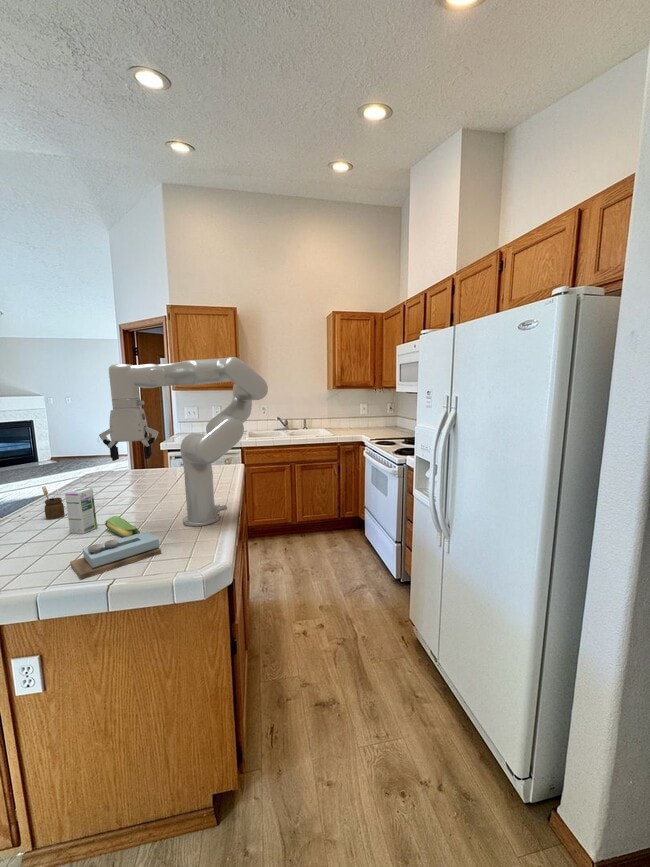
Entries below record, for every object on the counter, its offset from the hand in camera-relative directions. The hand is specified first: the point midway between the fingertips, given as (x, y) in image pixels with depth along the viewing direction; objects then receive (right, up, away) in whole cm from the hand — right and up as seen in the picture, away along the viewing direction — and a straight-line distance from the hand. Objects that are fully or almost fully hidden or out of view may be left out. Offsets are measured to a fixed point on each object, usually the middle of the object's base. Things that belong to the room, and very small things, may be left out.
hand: (131, 459), depth 116 cm
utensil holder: (-42, -24, +25) cm, 55 cm away
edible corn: (-6, -26, +6) cm, 27 cm away
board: (+2, -27, -12) cm, 30 cm away
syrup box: (-22, -25, +10) cm, 35 cm away
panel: (+3, -26, -11) cm, 28 cm away
